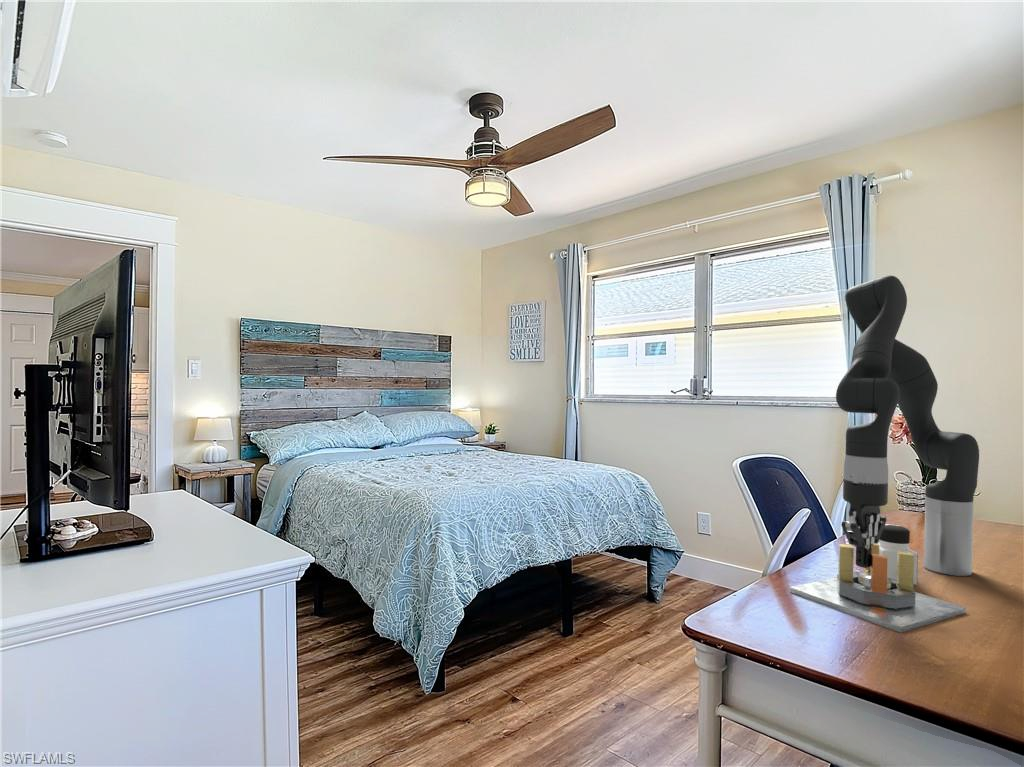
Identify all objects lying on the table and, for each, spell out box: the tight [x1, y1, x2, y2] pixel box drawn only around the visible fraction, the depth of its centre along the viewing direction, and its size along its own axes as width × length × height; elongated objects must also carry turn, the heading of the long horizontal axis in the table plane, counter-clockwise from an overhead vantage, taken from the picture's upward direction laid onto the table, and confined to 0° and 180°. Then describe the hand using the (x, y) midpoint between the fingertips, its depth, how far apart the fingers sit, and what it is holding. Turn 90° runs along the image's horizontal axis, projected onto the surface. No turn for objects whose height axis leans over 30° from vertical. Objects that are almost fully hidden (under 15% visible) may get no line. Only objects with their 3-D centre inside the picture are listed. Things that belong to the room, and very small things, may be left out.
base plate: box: [789, 572, 967, 634], centre depth 116 cm, size 22×22×5 cm
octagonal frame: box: [836, 543, 916, 609], centre depth 116 cm, size 13×13×9 cm
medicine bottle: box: [878, 523, 919, 586], centre depth 131 cm, size 7×7×12 cm
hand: (863, 566), depth 113 cm, fingers closed
